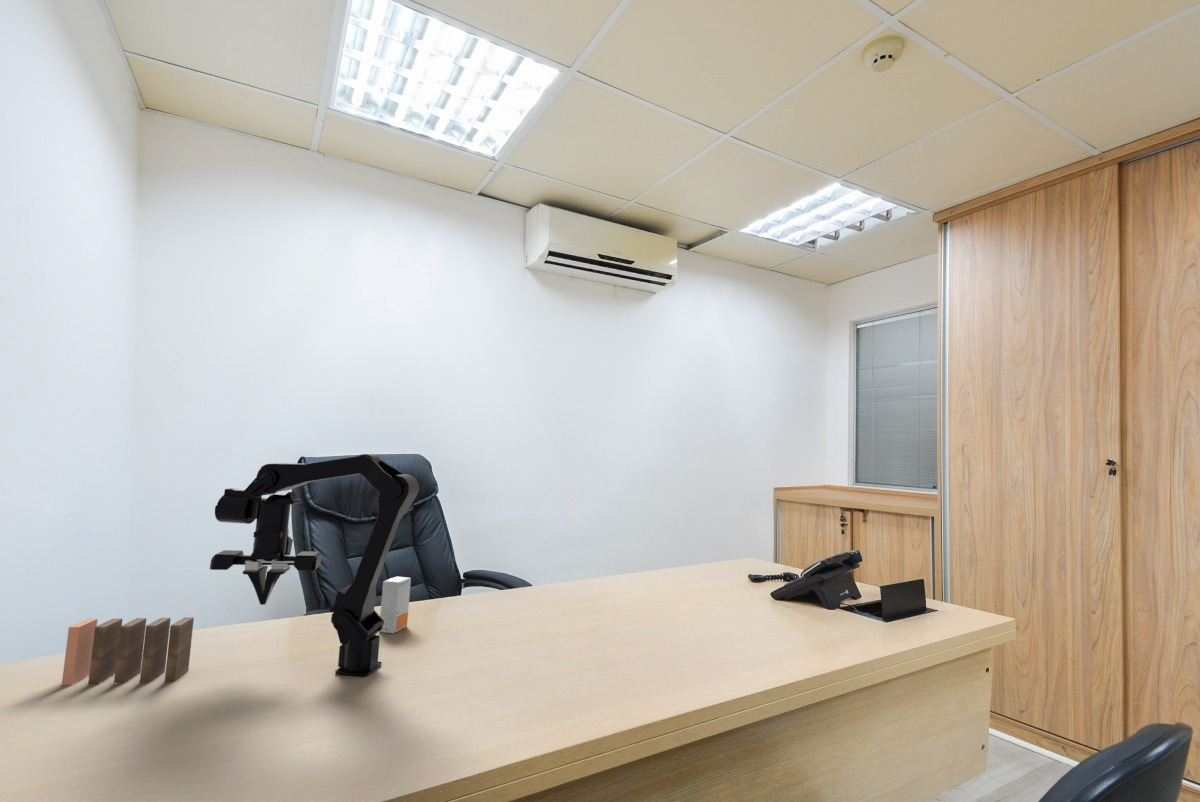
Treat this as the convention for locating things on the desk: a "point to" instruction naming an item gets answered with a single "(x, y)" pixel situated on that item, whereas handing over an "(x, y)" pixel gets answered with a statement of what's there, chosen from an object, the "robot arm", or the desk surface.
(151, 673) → the domino
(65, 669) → the domino
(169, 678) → the domino
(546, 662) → the desk surface
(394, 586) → the skincare box
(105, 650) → the domino
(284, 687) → the desk surface
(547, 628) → the desk surface
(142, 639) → the domino
